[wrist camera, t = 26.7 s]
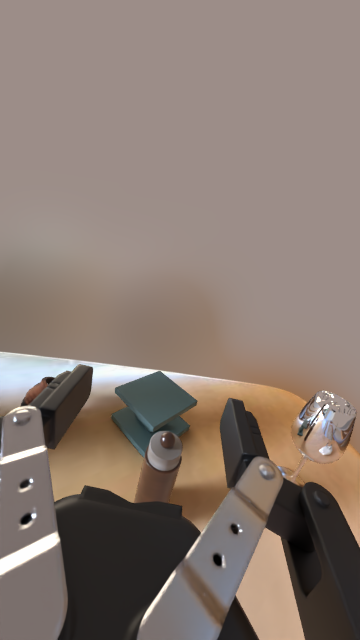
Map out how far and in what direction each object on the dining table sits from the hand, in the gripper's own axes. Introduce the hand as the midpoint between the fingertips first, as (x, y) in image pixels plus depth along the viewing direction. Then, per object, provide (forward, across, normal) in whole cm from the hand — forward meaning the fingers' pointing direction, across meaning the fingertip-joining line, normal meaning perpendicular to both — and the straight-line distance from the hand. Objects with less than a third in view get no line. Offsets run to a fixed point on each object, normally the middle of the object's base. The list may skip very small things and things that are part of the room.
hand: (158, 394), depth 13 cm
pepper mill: (+12, -2, +30) cm, 32 cm away
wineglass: (+20, -27, +30) cm, 45 cm away
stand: (+27, 0, +30) cm, 40 cm away
